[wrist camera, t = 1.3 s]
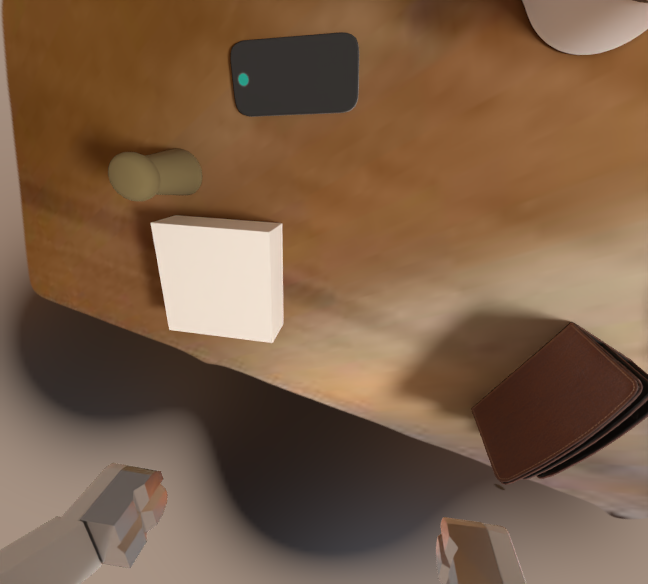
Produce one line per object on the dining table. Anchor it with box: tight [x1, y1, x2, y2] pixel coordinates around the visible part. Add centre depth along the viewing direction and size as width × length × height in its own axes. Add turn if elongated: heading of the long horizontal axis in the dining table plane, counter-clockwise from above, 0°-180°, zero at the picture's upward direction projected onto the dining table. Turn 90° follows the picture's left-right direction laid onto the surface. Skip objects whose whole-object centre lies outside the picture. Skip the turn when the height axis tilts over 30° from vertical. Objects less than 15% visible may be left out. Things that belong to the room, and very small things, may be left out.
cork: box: [108, 149, 202, 201], centre depth 39 cm, size 6×6×11 cm
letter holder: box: [471, 323, 648, 485], centre depth 42 cm, size 10×20×14 cm, turn 149°
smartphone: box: [231, 33, 359, 117], centre depth 37 cm, size 8×1×15 cm
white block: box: [151, 215, 283, 343], centre depth 47 cm, size 16×16×6 cm
